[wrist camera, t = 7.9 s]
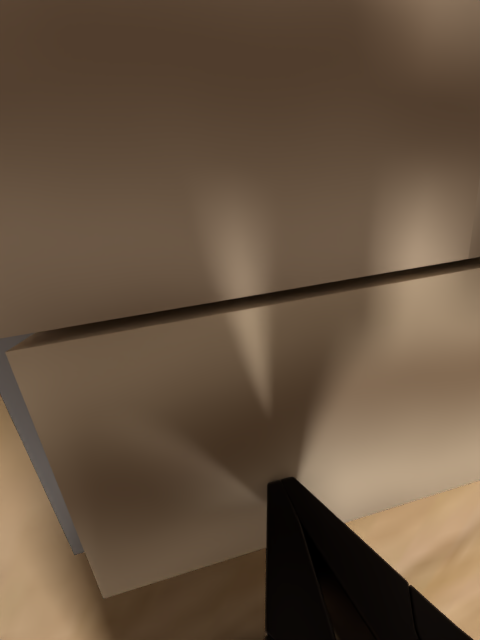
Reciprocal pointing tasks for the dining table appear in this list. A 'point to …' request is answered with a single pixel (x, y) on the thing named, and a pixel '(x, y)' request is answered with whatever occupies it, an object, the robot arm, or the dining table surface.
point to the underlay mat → (33, 441)
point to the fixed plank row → (229, 149)
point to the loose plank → (255, 413)
